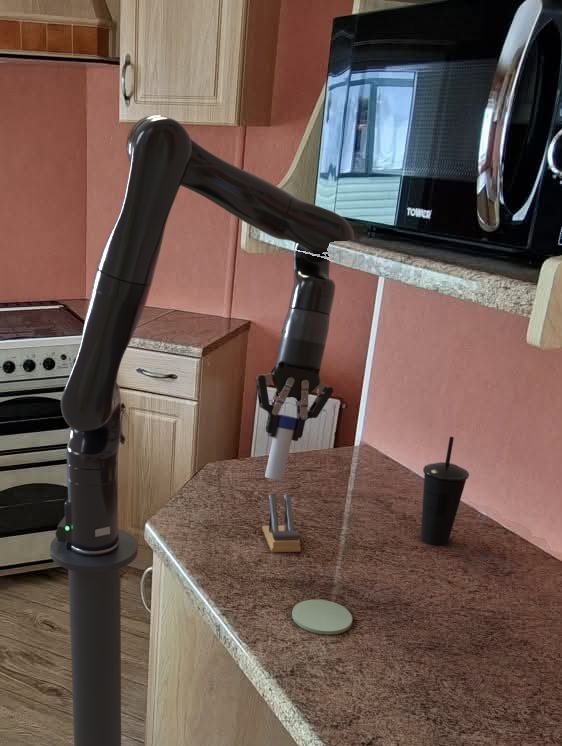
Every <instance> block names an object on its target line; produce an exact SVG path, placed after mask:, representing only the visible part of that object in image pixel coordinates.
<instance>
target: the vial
mask: <svg viewBox="0 0 562 746" xmlns="http://www.w3.org/2000/svg"><path fill="white" fill-rule="evenodd" d="M277 416H279V419H278V424H277V428H276V433H275V437H272V440H271V445H270V450H269V455H268V459H267V464H266V468H265V474H264V477H265V478H267V479H270V480H273V481H282V482H283V481H284V477H285V472H286V468H287V464H288V459H289V453H290V449H291V445H292V441H293V440H292V436H293V432H294V430H295V428H296V423H297V417H294V416H290V415H287V414H286V415H285V414H280V413H278V415H277Z"/></svg>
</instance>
